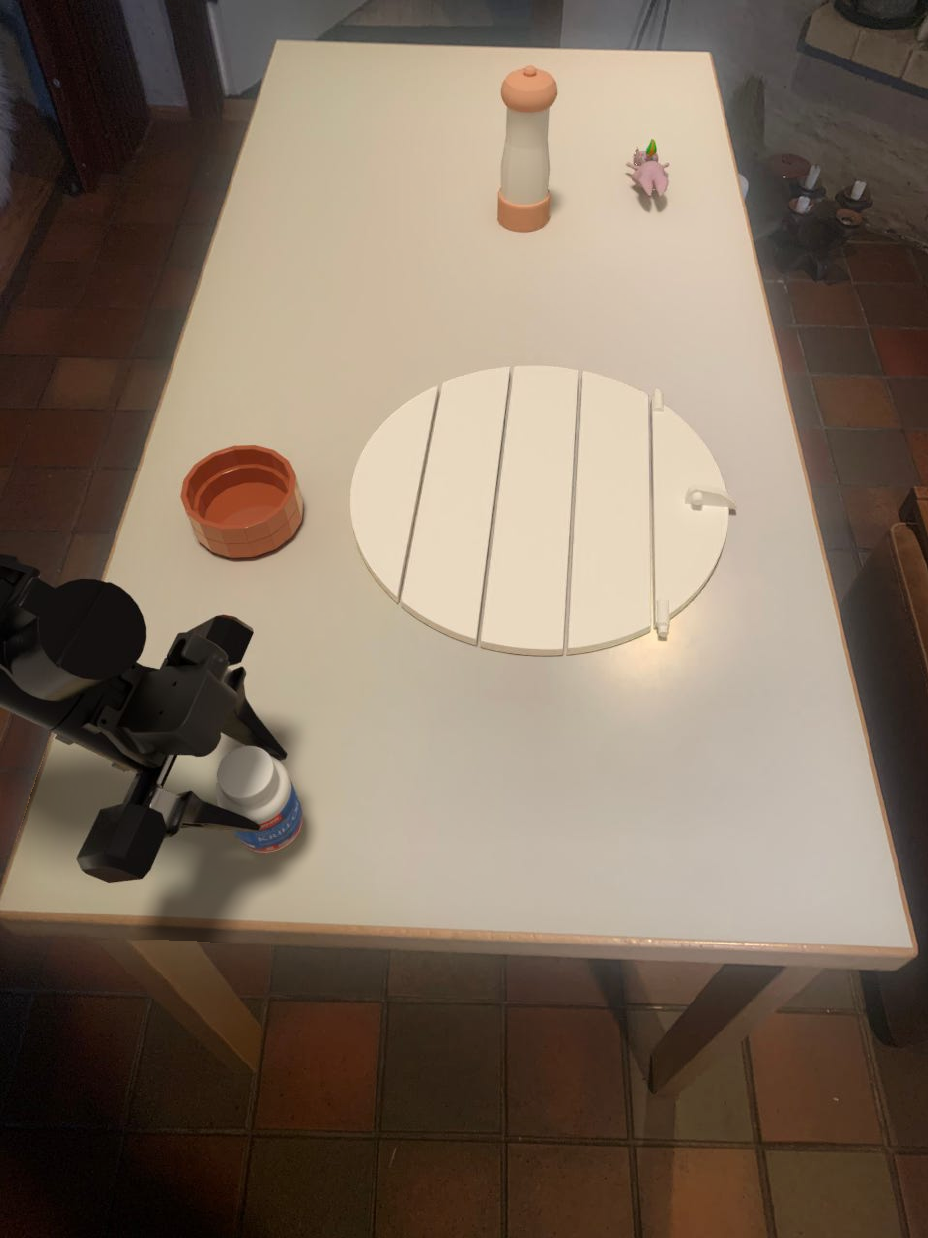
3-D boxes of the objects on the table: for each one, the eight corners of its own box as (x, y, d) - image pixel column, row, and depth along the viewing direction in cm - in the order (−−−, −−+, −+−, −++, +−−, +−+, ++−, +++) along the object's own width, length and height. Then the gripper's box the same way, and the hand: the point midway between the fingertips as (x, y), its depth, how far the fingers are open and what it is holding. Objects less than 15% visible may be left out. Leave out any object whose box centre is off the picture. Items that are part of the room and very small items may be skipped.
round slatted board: (723, 385, 98) (730, 361, 95) (748, 675, 76) (758, 655, 73) (384, 363, 101) (381, 339, 98) (315, 636, 79) (309, 615, 76)
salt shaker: (544, 201, 120) (554, 50, 104) (553, 230, 116) (565, 78, 100) (493, 205, 119) (496, 54, 103) (500, 234, 115) (504, 82, 99)
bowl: (174, 544, 85) (159, 511, 81) (228, 468, 91) (216, 434, 87) (273, 573, 83) (262, 541, 79) (321, 493, 89) (314, 460, 85)
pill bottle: (270, 868, 65) (242, 824, 57) (221, 827, 67) (188, 779, 59) (318, 814, 67) (298, 764, 59) (270, 776, 69) (244, 723, 61)
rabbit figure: (621, 168, 127) (630, 208, 116) (626, 124, 122) (636, 161, 112) (662, 169, 127) (675, 208, 116) (669, 125, 122) (683, 161, 112)
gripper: (47, 814, 43) (288, 919, 51) (191, 538, 53) (374, 661, 61) (-19, 833, 51) (201, 922, 58) (119, 588, 61) (290, 692, 69)
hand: (271, 793), depth 61 cm, fingers closed on pill bottle, 5 cm apart
